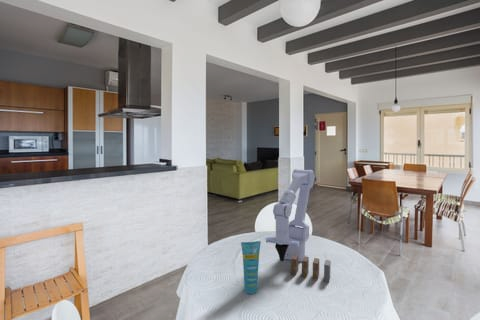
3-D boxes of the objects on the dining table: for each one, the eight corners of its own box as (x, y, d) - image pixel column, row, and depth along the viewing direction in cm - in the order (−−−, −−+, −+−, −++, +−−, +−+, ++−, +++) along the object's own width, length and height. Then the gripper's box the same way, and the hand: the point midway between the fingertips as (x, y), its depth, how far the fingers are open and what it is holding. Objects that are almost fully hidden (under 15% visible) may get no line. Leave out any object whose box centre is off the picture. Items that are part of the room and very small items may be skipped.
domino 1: (291, 274, 109) (291, 258, 109) (293, 269, 114) (293, 254, 113) (295, 275, 108) (295, 259, 108) (298, 270, 113) (298, 255, 112)
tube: (243, 295, 94) (242, 244, 93) (240, 288, 98) (239, 239, 98) (262, 292, 95) (262, 242, 94) (258, 285, 100) (258, 238, 99)
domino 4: (323, 281, 103) (324, 264, 103) (325, 275, 108) (325, 259, 108) (329, 282, 102) (329, 265, 102) (330, 276, 107) (330, 260, 107)
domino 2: (301, 276, 107) (301, 260, 107) (303, 271, 112) (304, 256, 111) (306, 277, 106) (306, 261, 106) (308, 272, 111) (308, 256, 110)
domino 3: (312, 279, 105) (312, 262, 105) (314, 273, 110) (314, 257, 109) (317, 280, 104) (317, 263, 104) (319, 274, 109) (319, 258, 109)
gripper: (263, 230, 112) (263, 260, 112) (296, 235, 106) (296, 267, 106) (268, 226, 118) (268, 254, 119) (300, 230, 112) (299, 260, 113)
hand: (282, 260), depth 113 cm, fingers closed
